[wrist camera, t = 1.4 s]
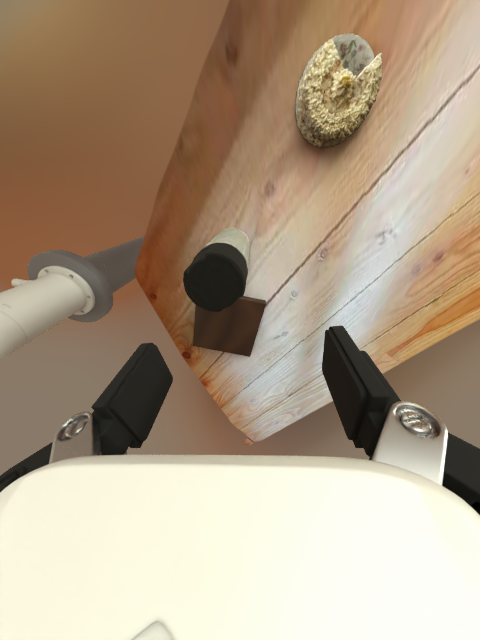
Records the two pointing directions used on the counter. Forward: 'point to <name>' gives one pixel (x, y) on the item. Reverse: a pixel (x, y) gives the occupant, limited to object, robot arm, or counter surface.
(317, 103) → the cake
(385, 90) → the counter surface
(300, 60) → the counter surface
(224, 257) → the spray can
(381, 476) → the robot arm
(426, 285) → the counter surface
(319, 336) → the counter surface
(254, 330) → the chopping board
